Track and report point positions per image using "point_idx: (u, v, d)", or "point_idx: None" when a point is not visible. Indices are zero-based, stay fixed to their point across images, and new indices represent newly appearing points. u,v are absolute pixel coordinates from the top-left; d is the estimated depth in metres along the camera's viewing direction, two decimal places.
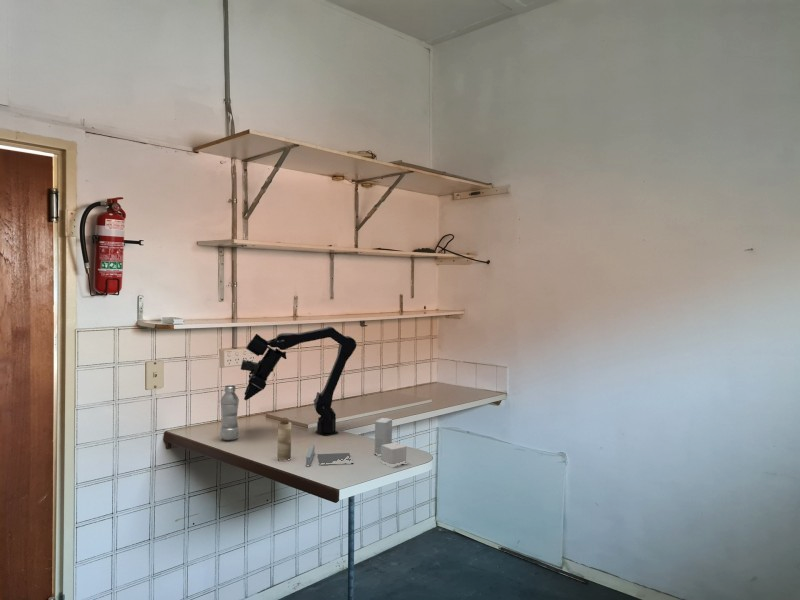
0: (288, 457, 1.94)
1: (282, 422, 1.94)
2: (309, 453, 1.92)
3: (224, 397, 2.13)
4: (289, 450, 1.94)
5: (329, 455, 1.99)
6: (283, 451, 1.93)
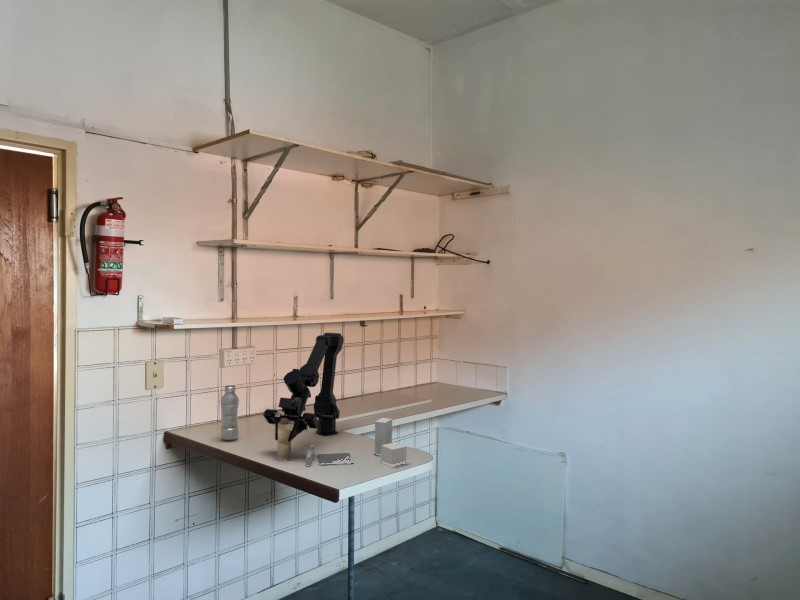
0: (288, 457, 1.94)
1: (282, 422, 1.94)
2: (309, 453, 1.92)
3: (224, 397, 2.13)
4: (289, 450, 1.94)
5: (329, 455, 1.99)
6: (283, 451, 1.93)
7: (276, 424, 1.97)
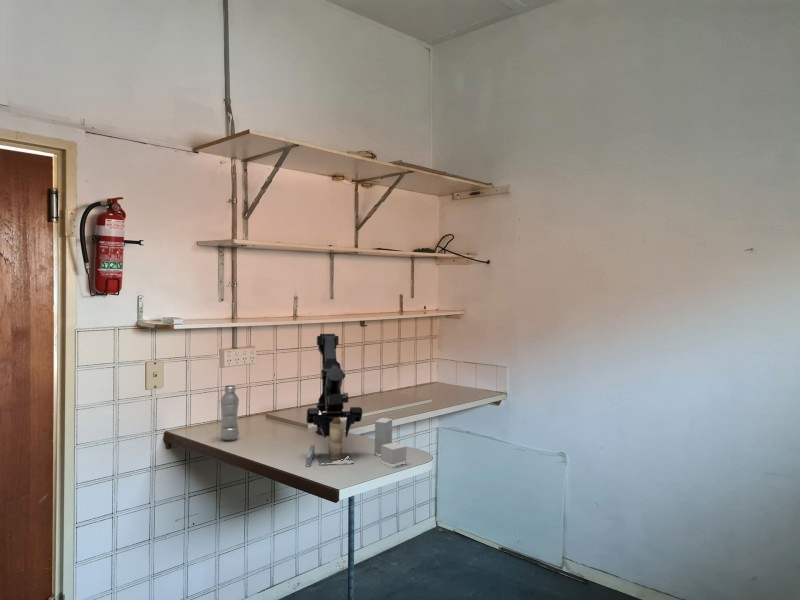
0: (341, 456, 1.96)
1: (336, 422, 1.94)
2: (309, 453, 1.92)
3: (224, 397, 2.13)
4: (341, 449, 1.96)
5: None
6: (338, 450, 1.94)
7: (320, 422, 1.96)
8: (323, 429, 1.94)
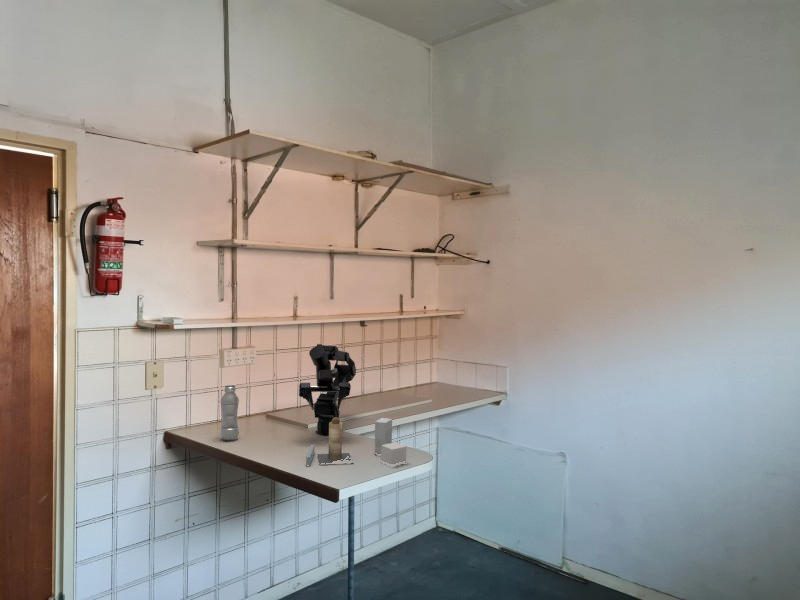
0: (341, 456, 1.96)
1: (335, 422, 1.94)
2: (309, 453, 1.92)
3: (224, 397, 2.13)
4: (341, 449, 1.96)
5: None
6: (338, 450, 1.94)
7: (309, 395, 2.12)
8: (311, 402, 2.10)
